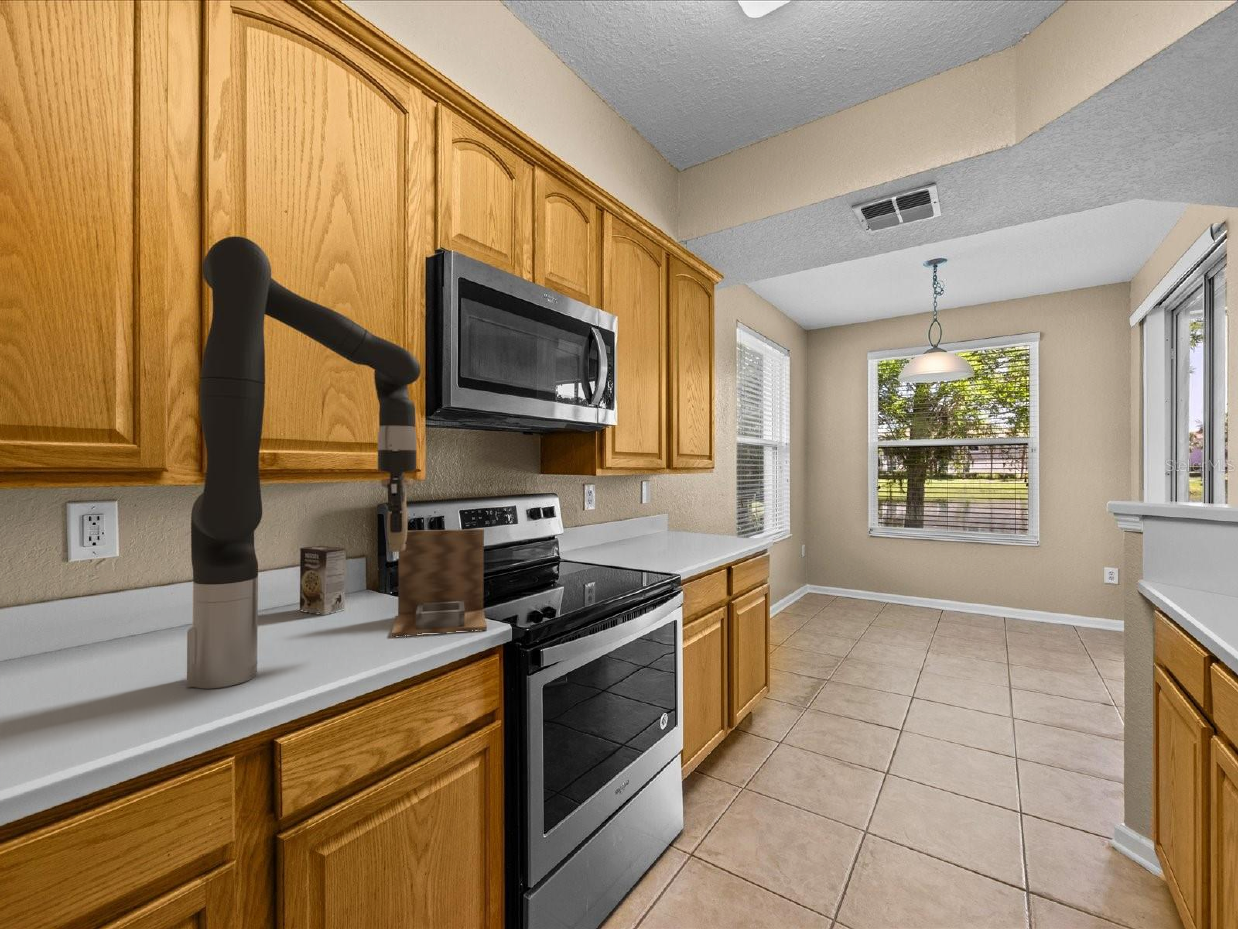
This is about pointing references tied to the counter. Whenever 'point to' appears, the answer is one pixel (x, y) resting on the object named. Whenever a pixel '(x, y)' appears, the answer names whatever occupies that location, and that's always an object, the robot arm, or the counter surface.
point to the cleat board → (441, 582)
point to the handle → (399, 538)
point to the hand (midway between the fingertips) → (397, 530)
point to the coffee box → (322, 579)
